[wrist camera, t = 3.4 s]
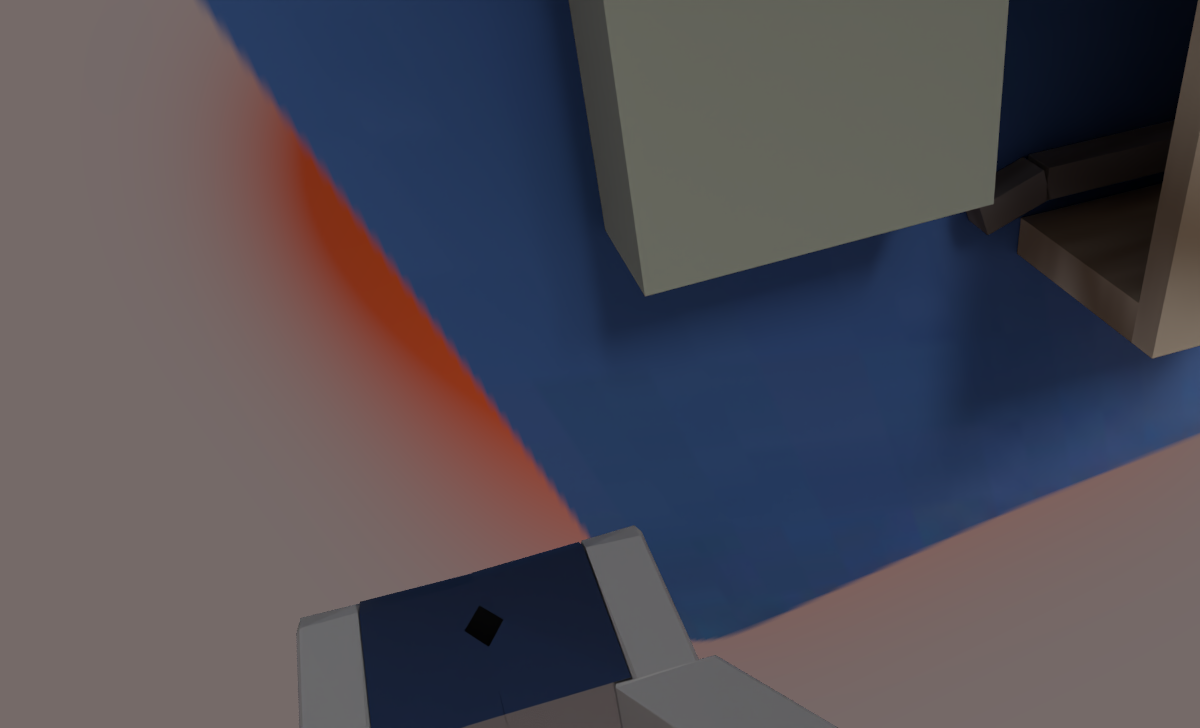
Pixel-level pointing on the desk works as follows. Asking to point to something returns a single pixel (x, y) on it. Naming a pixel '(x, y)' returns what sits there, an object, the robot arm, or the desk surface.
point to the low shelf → (1119, 222)
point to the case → (784, 124)
